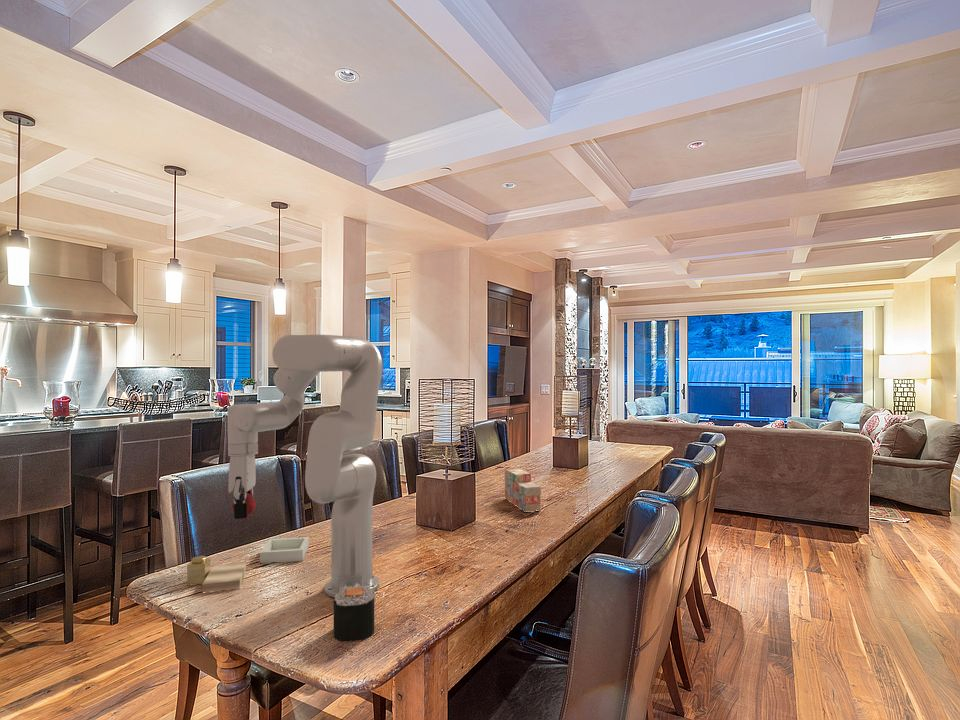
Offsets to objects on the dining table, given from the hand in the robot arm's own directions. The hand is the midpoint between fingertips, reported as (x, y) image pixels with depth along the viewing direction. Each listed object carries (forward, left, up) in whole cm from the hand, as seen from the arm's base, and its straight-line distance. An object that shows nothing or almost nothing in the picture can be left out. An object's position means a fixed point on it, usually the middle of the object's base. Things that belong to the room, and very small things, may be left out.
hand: (244, 514), depth 143 cm
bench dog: (-14, +7, -12) cm, 20 cm away
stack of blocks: (+40, -89, -13) cm, 98 cm away
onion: (0, 0, -1) cm, 1 cm away
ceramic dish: (+1, -10, -12) cm, 16 cm away
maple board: (-14, +1, -13) cm, 19 cm away
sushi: (-46, -33, -13) cm, 57 cm away
